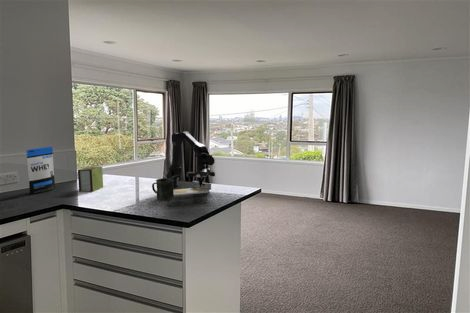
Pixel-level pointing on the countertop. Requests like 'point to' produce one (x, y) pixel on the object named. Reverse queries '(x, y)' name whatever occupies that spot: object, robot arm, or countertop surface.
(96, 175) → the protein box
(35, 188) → the protein powder
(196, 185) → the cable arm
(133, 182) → the countertop surface
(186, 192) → the label panel
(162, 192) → the mug
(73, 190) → the countertop surface
